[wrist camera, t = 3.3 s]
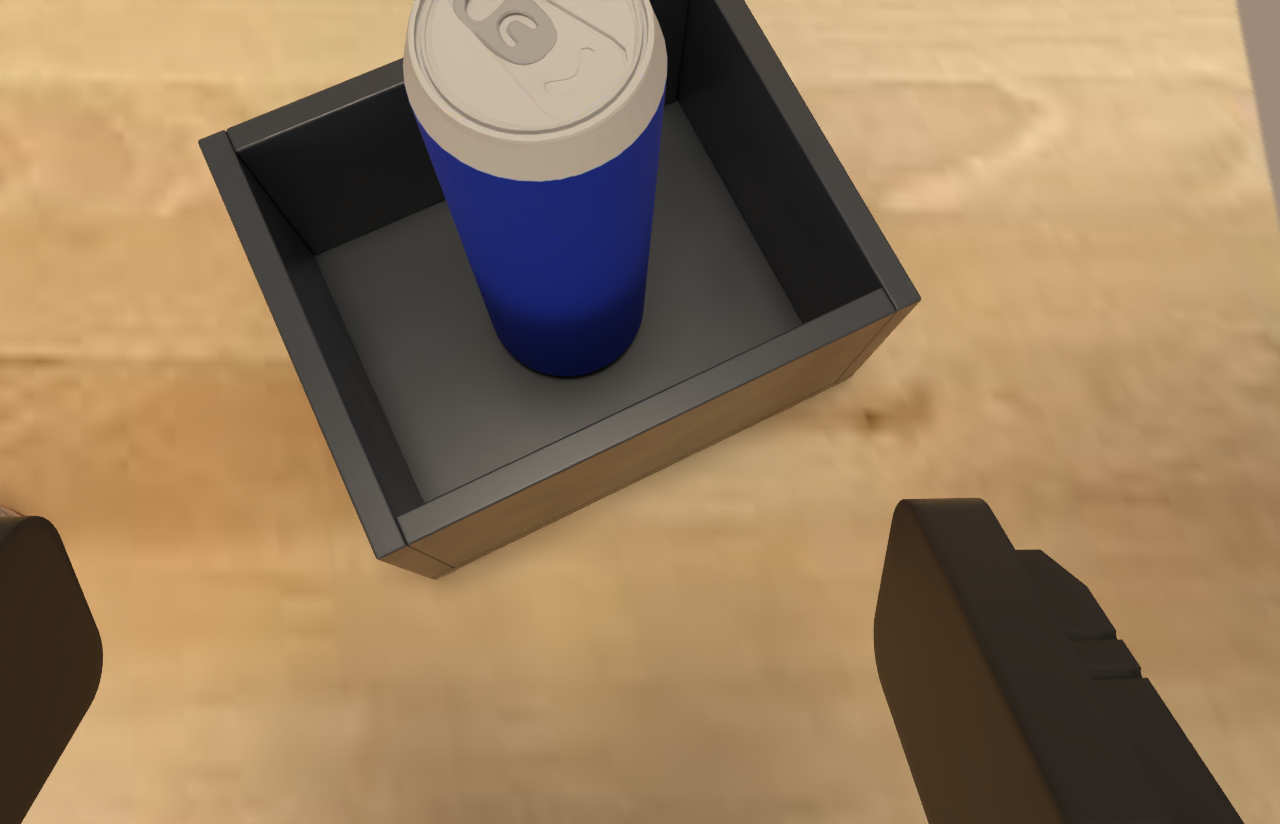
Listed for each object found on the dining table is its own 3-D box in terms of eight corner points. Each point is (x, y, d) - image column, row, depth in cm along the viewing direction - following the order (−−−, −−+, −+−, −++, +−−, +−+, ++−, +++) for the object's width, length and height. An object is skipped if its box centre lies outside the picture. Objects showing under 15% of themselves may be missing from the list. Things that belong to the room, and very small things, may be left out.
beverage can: (674, 304, 32) (727, 23, 17) (572, 412, 31) (537, 210, 16) (563, 210, 33) (525, -135, 18) (460, 313, 32) (332, 35, 17)
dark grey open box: (685, 84, 35) (706, -66, 27) (851, 377, 32) (923, 298, 25) (289, 253, 33) (196, 140, 25) (433, 580, 30) (376, 560, 23)
